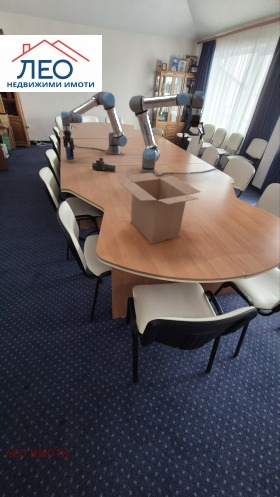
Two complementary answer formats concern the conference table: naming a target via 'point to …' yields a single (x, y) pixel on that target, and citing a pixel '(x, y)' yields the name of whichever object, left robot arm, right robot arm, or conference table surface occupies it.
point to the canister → (68, 153)
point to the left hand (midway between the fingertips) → (70, 155)
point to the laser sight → (103, 166)
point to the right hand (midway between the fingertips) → (190, 142)
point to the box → (158, 204)
